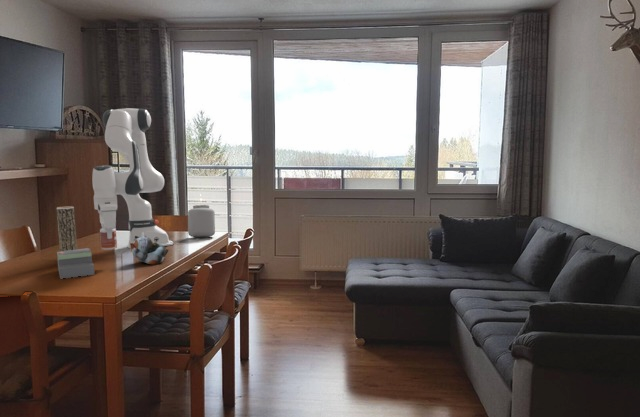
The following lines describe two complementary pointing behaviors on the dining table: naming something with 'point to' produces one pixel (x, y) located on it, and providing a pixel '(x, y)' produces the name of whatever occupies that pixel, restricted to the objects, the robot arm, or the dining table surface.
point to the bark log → (66, 228)
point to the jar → (201, 221)
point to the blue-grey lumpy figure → (148, 250)
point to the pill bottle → (105, 242)
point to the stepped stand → (75, 263)
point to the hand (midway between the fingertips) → (108, 237)
